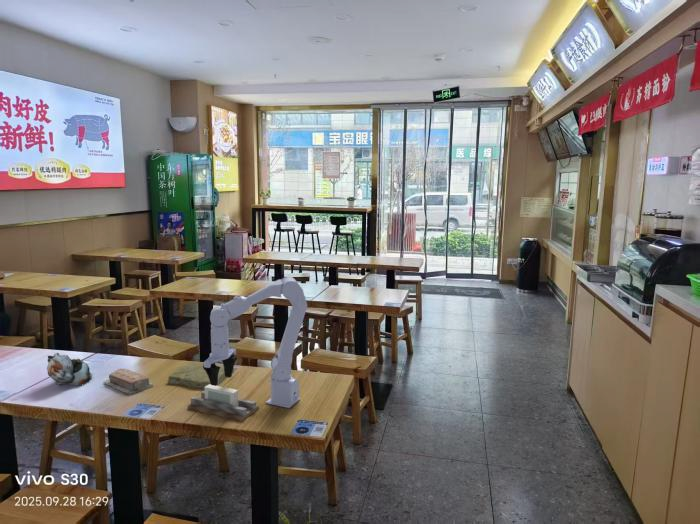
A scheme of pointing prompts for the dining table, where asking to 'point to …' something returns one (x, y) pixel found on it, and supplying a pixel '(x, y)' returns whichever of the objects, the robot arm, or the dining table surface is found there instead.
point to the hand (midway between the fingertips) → (221, 380)
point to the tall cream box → (221, 394)
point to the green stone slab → (195, 375)
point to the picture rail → (224, 407)
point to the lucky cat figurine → (68, 370)
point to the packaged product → (128, 381)
